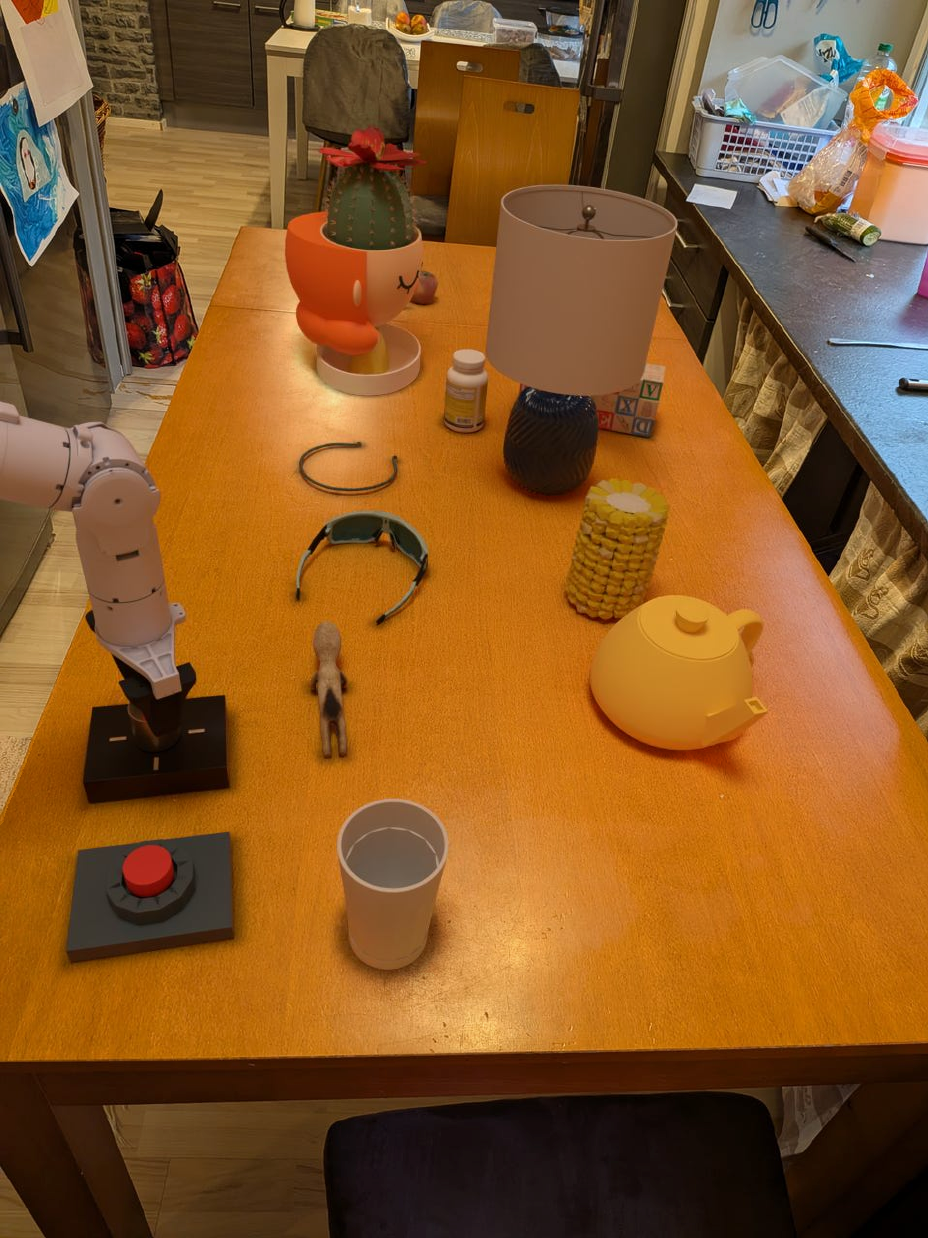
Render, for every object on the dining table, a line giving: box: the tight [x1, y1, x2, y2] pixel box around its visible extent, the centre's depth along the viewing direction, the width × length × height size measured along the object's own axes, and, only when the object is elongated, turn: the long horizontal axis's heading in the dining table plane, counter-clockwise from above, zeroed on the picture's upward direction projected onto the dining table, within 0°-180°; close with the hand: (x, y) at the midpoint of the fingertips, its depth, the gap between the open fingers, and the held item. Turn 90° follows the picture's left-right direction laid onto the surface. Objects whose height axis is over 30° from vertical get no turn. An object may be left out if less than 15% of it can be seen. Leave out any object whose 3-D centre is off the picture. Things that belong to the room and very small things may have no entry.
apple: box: [410, 270, 439, 305], centre depth 171 cm, size 6×8×6 cm
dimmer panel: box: [82, 694, 231, 805], centre depth 82 cm, size 12×9×3 cm
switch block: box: [65, 831, 235, 963], centre depth 71 cm, size 12×9×4 cm
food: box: [564, 477, 670, 621], centre depth 103 cm, size 15×12×10 cm
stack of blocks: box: [518, 363, 666, 438], centre depth 138 cm, size 21×6×12 cm, turn 76°
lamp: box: [485, 184, 678, 497], centre depth 114 cm, size 20×20×37 cm
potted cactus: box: [284, 125, 427, 397], centre depth 138 cm, size 22×22×35 cm
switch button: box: [123, 845, 174, 897], centre depth 70 cm, size 4×4×2 cm
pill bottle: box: [443, 348, 489, 434], centre depth 133 cm, size 6×6×11 cm
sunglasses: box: [295, 509, 429, 625], centre depth 105 cm, size 14×15×5 cm
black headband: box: [298, 441, 398, 492], centre depth 124 cm, size 14×13×1 cm
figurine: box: [309, 621, 348, 758], centre depth 89 cm, size 4×4×15 cm
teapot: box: [588, 594, 769, 751], centre depth 89 cm, size 20×19×13 cm
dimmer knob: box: [127, 701, 181, 752], centre depth 80 cm, size 4×4×4 cm
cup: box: [336, 798, 450, 971], centre depth 68 cm, size 8×8×12 cm
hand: (150, 702), depth 78 cm, fingers open, 7 cm apart
